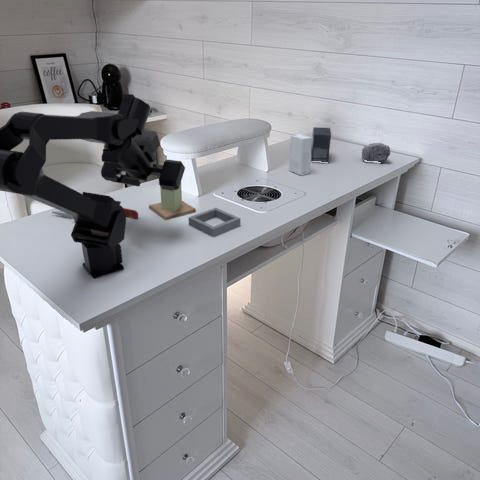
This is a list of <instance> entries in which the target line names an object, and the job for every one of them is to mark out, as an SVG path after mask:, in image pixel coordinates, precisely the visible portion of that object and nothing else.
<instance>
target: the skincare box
mask: <svg viewBox="0 0 480 480" xmlns="http://www.w3.org/2000/svg"><path fill="white" fill-rule="evenodd" d="M289 145H290V146H289V147H290V148H289V164H288V165H289V168H288V170H289V172H292V173H293V172H294V174H296V175H298V176H306V175H305V174H307V175H309V174H310V172H311V146H312V136H311V137H310V136H308V135H305V134H300V133H298V134H294V135H293V134H291V135H290V143H289ZM308 173H309V174H308Z"/></svg>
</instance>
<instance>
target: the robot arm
mask: <svg viewBox="0 0 480 480" xmlns="http://www.w3.org/2000/svg"><path fill="white" fill-rule="evenodd" d="M151 110H152V109H151V106H150V104H149V103H147V102H145V101H144V100H142V99H140V98H139V97H138V98H137V97H136V96H135V94H132V93H124V94H123V96H122V99H121V103H120V106H119V109H118V112H117V113H116V112H115V113H113V112H107V111H106V112H104V111H94V110H91V111H86V112H81V113H80V114H79V115H74V116H72V115H59V114H57V115H55V114H44V113H41V112H40V113H39V112H29V111H19V112H16V113H13V115H11V117H10V118H9V119H8V121H7V122H6V124H4V125H3V126H1V127H0V192H5V193H11V194H16V195H17V194H19V195H21V196H23V197H27V198H29V199H32V200H34V201H36V202H38V203H41V204H44V205H46V206H49V207H50V208H52V209H56V210H57V211H62V212H65V213H67V214H70V215H72V216H74V217H75V221H76V223H75V221H74V225H73V228H72V231H71V234H70V236H71V238H72V240H73V242H74V243H79V244H81V249H82V254H83V255H82V256H83V260H84V261H83V262H82V265H81V266H82V267H83V268H84V270H85V271H86V272H87V273H88V275H89V276H90V277H91V278H92V279H99V278H101V277H105V276H108V275H112V274H115V273H118V272H120V271H123V270H125V266H124V265H123V264H122V263H123V253H122V252H123V251H122V246H121V244H120V243H122V242H124V240H125V238H126V237H125V234H126V225H127V217H126V214H125V212H124V208H125V207H123V206H122V205H121V204H122V202H121V201H119V200H115V199H114V198H113V197H112V196H110V195H106V194H98V193H92V192H86V191H82V193H81V192H80V191H79V192H78V191H77V190H76V189H73V188H71V187H69V186H68V185H66V184H63V183H62V182H59V181H57V180H55V179H54V178H52V177H49V176H48V175H46V174H45V173H44V170H43V167H44V165H45V164H46V161H47V145H48V144H49V142H50V140H51V141H53V140H54V141H56V140H82V141H85V142H89V143H95V144H96V143H97V144H103V149H102V155H101V162H103V164H102V165H101V169H100V175H101V177H102V178H103V179H104V180H105V181H109V182H111V183H112V182H113V183H117V184H124V185H130V186H134V187H140V186H141V181H142V182H147V180H148V177H149V176H158V185H159V187H160V186H161V187H162V189H165V190H169V191H173V192H174V190H177V189H179V187H180V184H181V185H182V180H183V176H184V174H185V173H184V172H185V170H186V167H185V165H184V163H183V162H182V161H181V160H173V159H165V160H164V162H163V164H156V163H155V162H156V158H157V156H156V155H155V154H156V152H157V150H158V149H159V147H160V146H161V142H160V139H159V138H160V137H159V135H158V133H157V132H156V131H155V130H144V129H145V126H146V123H147V121H148V118H149V116H150V113H151ZM25 140H29V141H28V142H29V143H28V145H27V146H26V148H25V150H24V151H23V152H22V151H16V150H13V149H14V148H16V147H17V146H19V145H20V144H22V143H23V142H24V141H25ZM92 230H96V231H102V232H107V233H109V234H107V233H102V232H96V231H92Z"/></svg>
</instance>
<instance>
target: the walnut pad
mask: <svg viewBox="0 0 480 480" xmlns="http://www.w3.org/2000/svg"><path fill="white" fill-rule="evenodd" d="M148 209H149V210H151V211H152V212H154V213H155V214H156V215H158V216H159V217H161V218H162V219H163V220H165V221H167V220H170V219H175V218H177V217H182V216H185V215H189V214H193V213H197V210H196V208H195V207H193V206H192V205H190V204H188V203H187V202H185V201H183V200H182V206H181V207H180V208H179V209H178V210H176V211H172V210H166V209H162V206H161V202H158V203H153V204H149V205H148Z"/></svg>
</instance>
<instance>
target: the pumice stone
mask: <svg viewBox="0 0 480 480" xmlns="http://www.w3.org/2000/svg"><path fill="white" fill-rule="evenodd" d="M390 155H391V148H390V146H389V145H387V144H385V143H382V142H373V143H372V142H371V143H369V144H368V145H364V147H363V148H362V150H361V159H362V160H363V159H364V160H367V161H378V162H382V163H384V161H386V160H388V158H389V156H390Z"/></svg>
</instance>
